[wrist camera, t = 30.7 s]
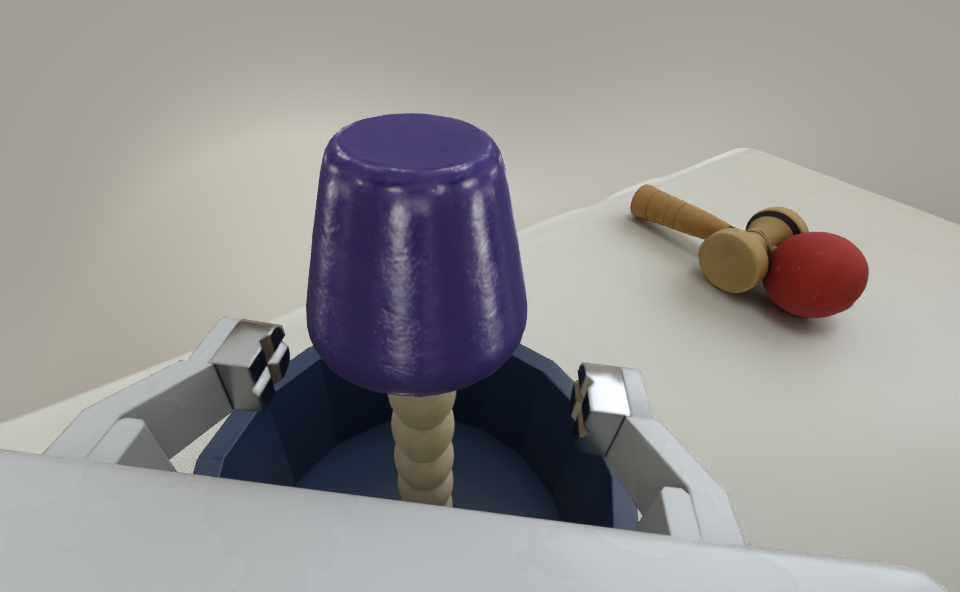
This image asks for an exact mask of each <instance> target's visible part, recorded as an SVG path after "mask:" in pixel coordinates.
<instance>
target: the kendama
mask: <svg viewBox="0 0 960 592" xmlns="http://www.w3.org/2000/svg"><path fill="white" fill-rule="evenodd" d="M630 209H631V213H632V214H633V215H634V216H637V217H640V218H643V219H646V220H649V221H652V222H655V223H658V224H661V225H664V226H667V227H669V228H672V229H676V230H677V231H680V232H683V233H686V234H689V235H692V236H695V237H698V238H701V239H705V240H704V242H703V243H702V244H701V246H700V249H699V254H698V258H699V264H700V267H701V270H702V271H703V273H704V275H705V276H706V278H707V279H708V280H709V281H710V282H711V283H712V284H713V285H715V286H716V287H718V288H719V289H721V290H723V291H726V292H730V293H742V292H745V291H748V290H750V289H751V288H753V287H755V286H757V285H758V284H760V283H761V282H762V281H763V285H764V289H765V291H766V293H767V295H768V296H769V298H770V299H771V300H772V301H773V302H774V303H775V304H776V305H777V306H778V307H780V308H781V309H783V310H785V311H787V312H789V313H791V314H793V315H797V316H801V317H806V318H823V317H827V316H831V315H834V314H837V313H840V312H843V311H845V310H847V309H849V308H850V307H852V306H853V303H854V302H855V301H856V300H857V299H858V298H859V297H860V295H861V294H862V293H863V291H864V289H865V287H866V285H867V281H868V275H869V269H868V264H867V262H866V259H865V257H864V255H863V254H862V252H861V251H860V250H859V249H858V248H857V247H856V246H855V245H854V244H853V243H851V242H850V241H849V240H847V239H845V238H843V237H841V236H838V235H835V234H831V233H826V232H809V231H808V227H807V225H806V224H805V222H804V220H803V219H802V218H801V217H800V216H799V215H798V214H797V213H795V212H794V211H792V210H790V209H787V208H784V207H771V208H767V209H764V210H762V211H760V212H758V213H756V214H755V215H753V216H752V218H751V219H750V220H749V222H748V224H747V226H746V231H744V230H740V229H737V228H735V227H733V226H731V225H729V224H728V223H726V222H724V221H722V220H721V219H719V218H717V217H715V216H713V215H712V214H710V213H708V212H706V211H704V210H702V209H700V208H698V207H695V206H693V205H691V204H688V203H687V202H684V201H682V200H679V199H678V198H676V197H674V196H671V195H669V194H667V193H665V192H662V191H661V190H659V189H657V188H655V187H653V186H651V185H648V184H646V185H643V186H641V187H640V188H639V189H638V190H637V192H636V193H635V195H634V197H633V199H632V202H631V207H630Z"/></svg>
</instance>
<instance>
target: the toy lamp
mask: <svg viewBox="0 0 960 592" xmlns="http://www.w3.org/2000/svg"><path fill="white" fill-rule="evenodd" d="M306 313H307V328H308V332H309V336H310V339H311V342H312V344H313V346H314V348H315V350H316V351H317V353H318V354H319V356H320V357H321V359H322V360H323V361H324V362H325V363H326V364H327V366H328V367H329V369H330V370H332V371H333V372H335V373H337V374H338V375H339V376H341V377H342V378H344V379H346V380H348V381H349V382H351V383H353V384H356V385H358V386H360V387H362V388H365V389H367V390H371V391H374V392H377V393H383V394H388V398H389V402H390V405H391V407H392V409H393V413H392V420H391V427H392V434H393V437H394V440H395V443H396V445H395V450H394V460H395V465H396V468H397V471H398V473H399V474H398V489H399V493H400V496H401V498H402V500H401V501H406V502H414V503H421V504H429V505H437V506H445V507H452V508H460V509H462V508H461V507H459V506H458V505H456V504H455V503H453V502H452V496H451V493H452V490H453V473H452V466H453V461H454V451H453V445H452V442H451V440H452V437H453V433H454V415H453V411H452V407H453V404H454V402H455V397H456V390H460V389H463V388H466V387H468V386H470V385H473V384H475V383H476V382H478V381H479V380H482V379H484V378H486V377H488V376H490V375H492V374H493V373H494V372H495V371H496V370H498V369H499V368H500V367H501V366H502V365H503V364H504V363H505V362H506V361H507V360H508V359H509V358H510V357H511V356H512V354H513V353H514V351H515V350H516V349H517V347H518V345H519V344H520V341H521V338H522V335H523V332H524V329H525V326H526V320H527V299H526V290H525V282H524V276H523V270H522V264H521V258H520V251H519V244H518V238H517V231H516V227H515V220H514V215H513V209H512V204H511V198H510V193H509V187H508V181H507V174H506V169H505V165H504V162H503V158H502V155H501V152H500V150H499V148H498V147H497V145H496V143H495V142H494V141H493V139H492V138H491V137H490V136H489V135H488V134H487V133H486V132H484V131H483V130H482V129H480V128H478V127H476V126H474V125H471V124H469V123H466V122H464V121H461V120H458V119H454V118H449V117H443V116H438V115H430V114H414V113H408V114H407V113H406V114H389V115H383V116H377V117H373V118H367V119H363V120H359V121H356V122H354V123H352V124H350V125H348V126H346V127H343V128H342V129H341V130H340V131H338V132H337V133H336V134H335V135H334V136H333V137H332V138H331V140H330V141H329V143H328V145H327V147H326V149H325V152H324V155H323V159H322V165H321V170H320V177H319V185H318V194H317V202H316V210H315V219H314V228H313V235H312V249H311V260H310V269H309V279H308V290H307V303H306Z"/></svg>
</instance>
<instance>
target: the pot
mask: <svg viewBox="0 0 960 592" xmlns="http://www.w3.org/2000/svg"><path fill="white" fill-rule="evenodd" d="M573 385H574V381H573V380H572V379H571V378H570V377H569V376H568V375H567V374H566V373H565V372H564V371H563V370H562V369H561V368H560V367H559V366H558V365H557V364H556V363H554V361H552V360H550V359H548V358H546V357H544V356H542V355H540V354H539V353H537V352H535V351H533V350H531V349H529V348H527V347H525V346H523V345H521V344H519V345H518V347H517V349H516V350H515V351H514V353H513V354H512V356H511V357H510V358H509V359H508V360H507V361H506V362H505V363H504V364H503V365H502V366H501V367H500V368H499V369H498V370H496V371H495V372H494V373H493V374H492V375H490V376H488V377H486V378H484V379H482V380H479V381H478V382H476V383H475V384H473V385H470V386H468V387H466V388H463V389H460V390H456V397H455V402H454V404H453V407H452V411H453V415H454V433H453V437H452V440H451V442H452V445H453V451H454V461H453V466H452V473H453V490H452V493H451V496H452V502H453V503H455V504H456V505H458V506H459V507H461V508H462V509H468V510H476V511H483V512H491V513H499V514H507V515H515V516H522V517H530V518H538V519H546V520H553V521H561V522H569V523H577V524H584V525H592V526H600V527H608V528H615V529H623V530H631V531H633V529H634V528H635V527H636V525H637V524H638V513H637V506H636V505H635V503H634V502H633V500H632V499H631V497H630V496H629V494H628V493H627V491H626V489H625V488H624V486H623V485H622V483H621V482H620V480H619V479H618V477H617V476H616V474H615V473H614V471H613V470H612V468H611V467H610V465H609V464H608V462H607V461H606V459H605V457H602V456H596V455H589V454H583V453H576V452H574V448H573V437H572V429H573V426H574V423H575V421H574V420H573V418H572V417H571V413H570V399H571V392H572V388H573ZM274 389H275V392H276V393H275V395H274V396H273V398H272V400H271V402H270V404H269V405H268V407H267V409H266V411H265V413H264V412H254V411H244V410H233V412H232V413H231V414H230V416H229V417H228V418H227V420H226V421H225V422H224V424H223V425H222V426H221V428H220V429H219V430H218V432H217V433H216V434H215V436H214V437H213V438H212V440H211V441H210V442H209V443H208V445H207V446H206V447H205V449H204V450H203V451H202V453H201V454H200V455H199V458H198V459H197V462H196V465H195V468H194V472H193V474H196V475H204V476H211V477H219V478H227V479H235V480H242V481H250V482H258V483H266V484H273V485H281V486H289V487H297V488H304V489H312V490H320V491H328V492H335V493H343V494H351V495H359V496H367V497H375V498H382V499H390V500H398V501H401V500H402V498H401V496H400V493H399V489H398V474H399V473H398V471H397V468H396V465H395V460H394V450H395V445H396V443H395V440H394V437H393V434H392V427H391V420H392V413H393V409H392V407H391V405H390V402H389V398H388V394H383V393H377V392H374V391H371V390H367V389H365V388H362V387H360V386H358V385H356V384H353V383H351V382H349V381H348V380H346V379H344V378H342V377H341V376H339V375H338V374H337V373H335V372H333V371H332V370H330V369H329V367H328V366H327V364H326V363H325V362H324V361H323V360H322V359H321V357H320V356H319V354H318V353H317V351H316V350H315V348H314V346H312V347H309V348H307V349H306V350H305V351H303V352H302V353H300V354H299V355H297V356H296V357H295V358H293V359H292V360H290V361H289V365H288V369H287V372H286V374H285V376H284V378H283V380H281V381H279V382H278V383H276V384H275V385H274Z"/></svg>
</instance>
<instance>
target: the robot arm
mask: <svg viewBox="0 0 960 592" xmlns="http://www.w3.org/2000/svg"><path fill="white" fill-rule="evenodd" d="M284 336H285V333H284V329H283V326H281V325H278V324H272V323H265V322H258V321H252V320H245V319H236V318H230V317H223V318H222V319H220V320H219V321H218V322H217V323H216V324H215V326H214V327H213V328H212V329H211V331H210V332H209V333H208V335H207V336H206V337H205V338H204V339H203V341H202V342H201V343H200V345H199V346H198V347H197V348H196V350H195V351H194V352H193V353H192V355H191V356H190V357H189V358H188V360H180V361H178V362H176V363H174V364H172V365H170V366H168V367H166V368H164V369H162V370H160V371H158V372H156V373H155V374H153V375H151V376H149V377H147V378H145V379H143V380H141V381H139V382H137V383H135V384H133V385H131V386H129V387H127V388H125V389H123V390H121V391H119V392H117V393H115V394H113V395H111V396H109V397H107V398H105V399H104V400H102V401H100V402H98V403H96V404H94V405H92V406H90V407H88V408H86V409H84V410H82V411H81V413H80V414H79V415H78V416H77V417H76V418H75V419H74V420H73V421H72V422H71V423H70V424H69V426H68V427H67V428H66V429H65V430H64V431H63V432H62V433H61V434H60V435H59V436H58V437H57V438H56V440H55V441H54V442H53V443H52V444H51V445H50V446H49V447H48V448H47V449H46V450H45V451H44V453H43V454H34V453H26V452H18V451H11V450H3V449H0V592H950V591H949V590H947V589H946V588H945V587H944V586H942V585H941V584H940V583H938V582H937V581H936V580H934V579H933V578H932V577H931V576H929V575H928V574H926V573H924V572H922V571H920V570H917V569H914V568H911V567H906V566H901V565H895V564H887V563H880V562H872V561H864V560H856V559H849V558H841V557H833V556H825V555H817V554H810V553H802V552H794V551H786V550H778V549H771V548H763V547H755V546H747V545H745V542H744V540H743V537H742V534H741V531H740V528H739V525H738V522H737V519H736V516H735V514H734V511H733V508H732V505H731V502H730V499H729V496H728V493H727V492H726V491H725V490H724V489H723V488H722V487H721V486H720V485H719V484H718V483H717V482H716V481H715V480H714V479H713V478H712V476H711V475H710V474H709V473H708V472H707V471H706V470H705V469H704V468H703V467H702V466H701V465H700V464H699V463H698V462H697V461H696V460H695V459H694V457H693V456H692V455H691V454H690V453H689V452H688V451H687V450H686V449H685V448H684V447H683V446H682V445H681V444H680V443H679V442H678V441H677V440H676V438H675V437H674V436H673V435H672V434H671V433H670V432H669V431H668V430H667V429H666V428H665V427H664V426H663V425H662V424H661V423H660V422H659V421H658V420H653V418H652V414H651V410H650V406H649V402H648V399H647V395H646V391H645V387H644V383H643V379H642V375H641V372H640V371H639V369H634V368H625V367H618V366H609V365H600V364H592V363H583V362H582V364H581V365H580V367H579V370H578V377H579V380H577V381H576V382H574V385H573V388H572V392H571V399H570V413H571V417H572V418H573V420H574V421H575V423H574V426H573V429H572V437H573V448H574V452H576V453H583V454H589V455H596V456H602V457H605V459H606V461H607V462H608V464H609V465H610V467H611V468H612V470H613V471H614V473H615V474H616V476H617V477H618V479H619V480H620V482H621V483H622V485H623V486H624V488H625V489H626V491H627V493H628V494H629V496H630V497H631V499H632V500H633V502H634V503H635V505H636V506H637V508H638V509H639V511H640V512H641V514H642V515H643V517H642V518H641V520H640V521H639V522H638V524H637V525H636V527H635V528H634V529H633V531H631V530H623V529H615V528H608V527H600V526H592V525H584V524H577V523H569V522H561V521H553V520H546V519H538V518H530V517H522V516H515V515H507V514H499V513H491V512H483V511H476V510H468V509H460V508H452V507H445V506H437V505H429V504H421V503H414V502H406V501H398V500H390V499H382V498H375V497H367V496H359V495H351V494H343V493H335V492H328V491H320V490H312V489H304V488H297V487H289V486H281V485H273V484H266V483H258V482H250V481H242V480H235V479H227V478H219V477H211V476H204V475H196V474H188V473H180V472H177V471H176V470H175V468H174V466H173V465H172V463H171V462H170V460H169V459H171V458H172V457H173V456H175V455H176V454H177V453H179V452H180V451H181V450H182V449H184V448H185V447H186V446H188V445H189V444H190V443H192V442H193V441H194V440H196V439H197V438H198V437H200V436H201V435H202V434H204V433H205V432H206V431H207V430H209V429H210V428H211V427H213V426H214V425H215V424H217V423H218V422H219V421H221V420H222V419H223V418H225V417H226V416H227V415H228V414H230V413H231V412H232V411H233V410H232V409H234V410H244V411H254V412H264V413H265V411H266V409H267V407H268V405H269V404H270V402H271V400H272V398H273V396H274V395H275V393H276V392H275V389H274V385H275V384H276V383H278V382H279V381H281V380H283V378H284V376H285V374H286V372H287V369H288V365H289V361H290V352H289V348H288V346H287V345H286V344H285V343H284V342H283V341H282V339H283V338H284Z"/></svg>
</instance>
